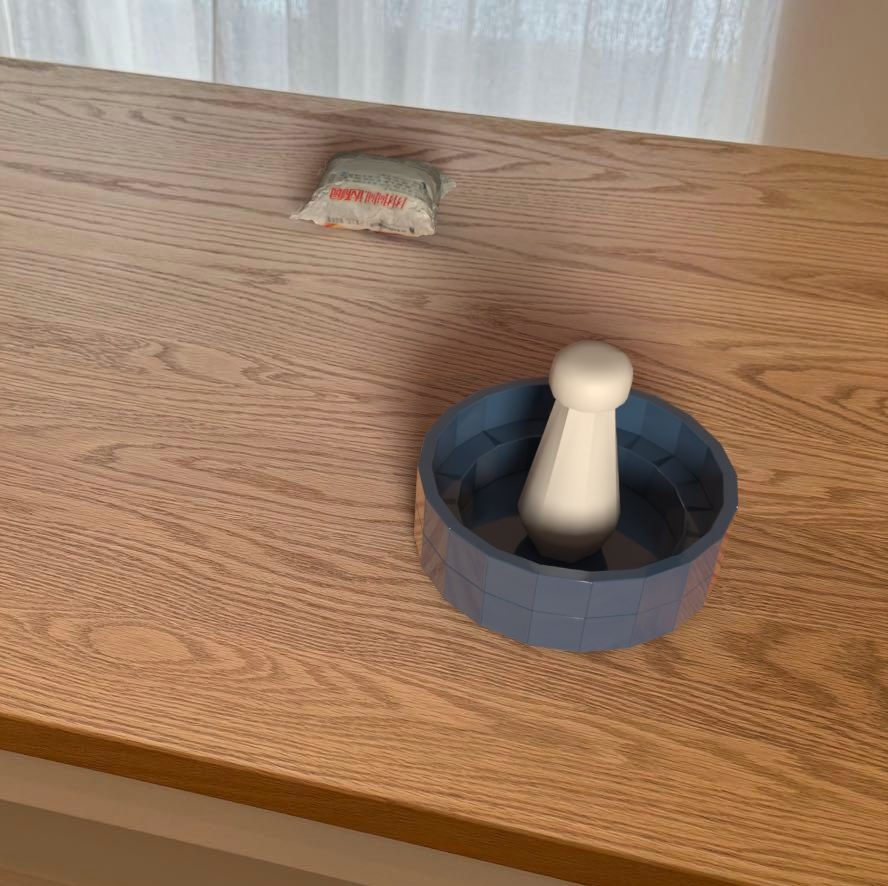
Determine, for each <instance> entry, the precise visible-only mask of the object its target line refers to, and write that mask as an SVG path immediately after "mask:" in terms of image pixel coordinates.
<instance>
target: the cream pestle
mask: <svg viewBox="0 0 888 886" xmlns="http://www.w3.org/2000/svg"><path fill="white" fill-rule="evenodd" d="M553 358H554V359H553V360H552V363H551V366H550V369H549V372H548V377H549V385H550V388H551V391H552V393H553V396H554V398H555V399H556V401H555V404H554V406H553V409H552V412H551V414H550V417H549V420H548V423H547V425H546V428H545V431H544V433H543V436H542V439H541V442H540V444H539V447H538V450H537V452H536V455H535V458H534V461H533V463H532V466H531V469H530V471H529V474H528V477H527V480H526V482H525V485H524V488H523V490H522V493H521V496H520V499H519V501H518V512H519V515H520V518H521V521H522V524H523V526H524V528H525V530H526V532H527V534H528V536H529V538H530V539H531V541H532V542H533V544H534V545H535V547H536V549H537V550H538V552H539V553H540V555H541V556H544V557H548V558H552V559H556V560H560V561H564V562H568V563H574V562H576V561H578V560H581V559H583V558H585V557H587V556H589V555H591V554H594V553H596V552H597V551H598V550H599V549H600V548H601V547H602V545H603V544H604V543H605V542H606V541H607V540H608V539H609V538H610V537H611V536H612V534H613V533H614V531H615V529H616V526H617V522H618V519H619V515H620V495H619V475H618V455H617V435H616V415H615V409H616V408H617V407H619V406H620V405H622V404H623V403H625V401H626V400H627V398H628V395H629V391H630V388H632V384H633V381H634V380H633V379H634V367H633V365H632V362H631V360H630V358H629V356H628V355H627V354H625V353H624V351H622V350H621V349H619V348H618V347H617V346H615V345H613V344H610V343H608V342H604V341H602V340H591V339H589V340H588V339H584V340H579V341H575V342H570V343H569V344H568V345H566V346H564V347H563V348H561V349H560V350H559V351H557V352H556V354H555V356H554V357H553Z"/></svg>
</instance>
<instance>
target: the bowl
mask: <svg viewBox="0 0 888 886" xmlns="http://www.w3.org/2000/svg"><path fill="white" fill-rule="evenodd" d="M555 401H556V399H555V398H554V396H553V393H552V391H551V388H550V385H549V376H537V377H520V378H515V379H512V380H509V381H506V382H501V383H499V384H495V385H491V386H488V387H484V388H481V389H478V390H476V391H474V392H472V393H471V394H469V395H467V396H466V397H465V398H463V399H460V400H459V401H457V402H456V403H454V404H453V405H451V406H449V407H447V408H446V409H445V410H444V411H443V412H442V414H441V415H440V416H439V417H438V418H437V420H436V421H435V422H434V423H433V424H432V426H431V427H430V428H429V429H428V431H427V432H425V434H424V437H423V442H422V445H421V449H420V452H419V458H418V461H417V465H416V466H417V467H416V483H415V484H416V486H415V501H414V504H415V505H414V523H413V537H414V541H415V545H416V546H415V547H416V550H417V555H418V560H419V564H420V567H421V569H422V570H423V571H424V573H425V574H426V576H427V577H428V578H429V580H430V582H431V583H432V584H433V585H434V587H435V589H436V590H437V591H438V593H439V594H440V595H441V597H442V598H443V600H444V601H446V602H447V603H448V604H450V605H451V606H452V607H453V608H455V609H456V610H458V611H459V612H460V613H462V614H463V615H464V616H466V617H467V618H468V619H470V620H471V621H472V622H474V623H475V624H477V626H479V627H481V628H484V629H487V630H489V631H491V632H494V633H497V634H500V635H501V636H504V637H507V638H508V639H512V640H514V641H517V642H519V643H520V644H521V643H522V644H523V645H528V646H532V647H539V648H545V649H553V650H560V651H566V652H572V653H589V652H601V651H603V652H604V651H613V650H624V649H626V650H627V649H631V648H634V647H637V646H639V645H642V644H645V643H647V642H651V641H653V640H656V639H658V638H662V637H664V636H667V635H670V634H672V633H674V632H675V631H676V630H677V629H679V628H681V626H683V624H685V623H686V622H687V621H689V620H690V619H691V618H692V617H694V615H696V614H697V613H698V612H699V611H700V610H702V609H703V608H704V606H705V604H706V602H707V600H708V599H709V596H710V595H711V592H712V591H713V588H714V586H715V584H716V583H717V580H718V579H719V575H720V572H721V568H722V565H723V562H724V558H725V555H726V552H727V548H728V544H729V541H730V537H731V535H732V531H733V527H734V524H735V520H736V516H737V513H738V510H739V484H738V483H739V480H738V478H739V477H738V473H737V471H736V469H735V468H734V466H733V463H732V462H731V460H730V458H729V456H728V454H727V452H726V450H725V448H724V446H723V445H722V443H721V442H720V441H719V440H718V439H717V438H716V437H715V436H714V435H713V434H711V432H710V431H708V430H707V429H706V428H705V427H704V425H702V424H701V423H700V422H699V421H698V420H696V418H695V417H694V416H692V415H691V414H690V413H688V412H687V411H684V410H683V409H681V408H680V407H677V406H676V405H673V404H672V403H670V402H668V401H666V400H665V399H663V398H661V397H659V396H657V395H655V394H653V393H650V392H646V391H643V390H641V389H637V388H633V387H631V388H630V391H629V395H628V398H627V400H626V401H625V403H623V404H622V405H620V406H619V407H617V408H616V409H615V415H616V435H617V455H618V475H619V495H620V515H619V519H618V522H617V526H616V529H615V531H614V533H613V534H612V536H611V537H610V538H609V539H608V540H607V541H606V542H605V543H604V544H603V545H602V547H601V548H600V549H599V550H598V551H597V552H596V553H594V554H591V555H589V556H587V557H585V558H583V559H581V560H578V561H576V562H574V563H568V562H564V561H560V560H556V559H552V558H548V557H544V556H541V555H540V553H539V552H538V550H537V549H536V547H535V545H534V544H533V542H532V541H531V539H530V538H529V536H528V534H527V532H526V530H525V528H524V526H523V524H522V521H521V518H520V515H519V512H518V501H519V499H520V496H521V493H522V490H523V488H524V485H525V482H526V480H527V477H528V474H529V471H530V469H531V466H532V463H533V461H534V458H535V455H536V452H537V450H538V447H539V444H540V442H541V439H542V436H543V433H544V431H545V428H546V425H547V423H548V420H549V417H550V414H551V412H552V409H553V406H554V404H555Z"/></svg>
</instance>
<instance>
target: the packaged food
mask: <svg viewBox="0 0 888 886" xmlns="http://www.w3.org/2000/svg"><path fill="white" fill-rule="evenodd" d="M316 178H317V179H316V181H319V182H318V184H317V186H316V187H315V189H314V191H313V193H312V195H311V196H310V197H309V198H308V199H306V200H304V201H303V202H302V203H301V204H300V205H298V206H297V207H296V208H295V209H294V210H292V211H291V213H290V215H289V218H288V219H290V220H295V221H296V220H298V219H300V220H305V221H311V220H312V221H313V223H314V224H315V225H318V226H320V227H323V228H327V229H328V228H329V229H340V230H341V229H342V230H352V231H353V230H354V231H367V232H368V231H371V232H373V233H375V234H379V235H393V236H405V237H414V238H418V237H420V236H423V235H424V236H426V237H427V236H434V235H435V234H436V231H437V227H438V220H437V218H438V215H437V213H440V214H442V211H441V208H440V202H441V200H442V199H444V198H445V197H446V195H447V194H448V193H451V192H452V190H453V189H456V188H457V185H458V183H457V182H456V181H455V180H454V179H453V178H452V177H451V176H450V175H448V174H446V173H445V171H443V170H442V169H441V168H439V167H437V166H436V165H434V164H433V163H431V162H430V161H427V160H421V159H412V158H407V157H398V156H384V155H382V154H375V153H368V152H361V151H358V150H357V151H356V150H355V151H354V150H349V151H347V150H346V151H339V152H336V153H334V154H333V155H332V156H331V157H329V159H328V160H327V161H324V166H323V167H322V168H321V167H320V168H319V170H318V172H316Z"/></svg>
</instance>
